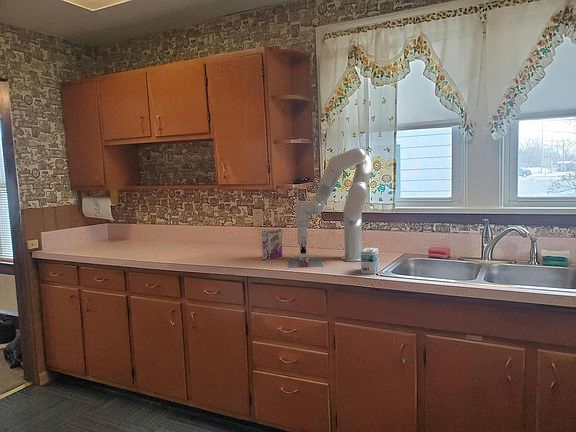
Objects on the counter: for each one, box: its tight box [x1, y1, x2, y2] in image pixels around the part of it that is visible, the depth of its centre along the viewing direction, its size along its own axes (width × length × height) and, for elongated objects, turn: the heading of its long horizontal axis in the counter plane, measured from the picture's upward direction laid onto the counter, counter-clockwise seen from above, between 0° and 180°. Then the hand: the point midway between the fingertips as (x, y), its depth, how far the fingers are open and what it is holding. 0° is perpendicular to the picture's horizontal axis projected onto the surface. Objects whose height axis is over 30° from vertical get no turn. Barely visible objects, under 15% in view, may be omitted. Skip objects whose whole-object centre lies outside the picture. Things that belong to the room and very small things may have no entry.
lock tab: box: [298, 252, 310, 261], centre depth 246 cm, size 5×5×3 cm
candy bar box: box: [261, 228, 283, 261], centre depth 255 cm, size 11×5×16 cm, turn 132°
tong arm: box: [301, 257, 307, 268], centre depth 236 cm, size 16×1×2 cm, turn 1°
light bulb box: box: [360, 247, 380, 275], centre depth 217 cm, size 11×7×11 cm, turn 159°
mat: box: [286, 257, 325, 269], centre depth 240 cm, size 18×23×1 cm
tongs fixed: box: [304, 257, 310, 268], centre depth 238 cm, size 19×3×2 cm, turn 2°
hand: (303, 256), depth 250 cm, fingers closed
